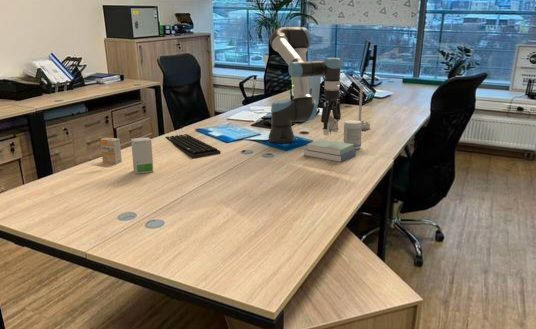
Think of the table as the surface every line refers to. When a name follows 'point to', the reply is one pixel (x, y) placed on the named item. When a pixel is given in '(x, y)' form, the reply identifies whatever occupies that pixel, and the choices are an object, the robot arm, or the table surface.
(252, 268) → the table surface
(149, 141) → the skincare box
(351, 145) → the book pile
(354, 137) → the supplement tub
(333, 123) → the game die
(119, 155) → the supplement box
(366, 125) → the flag stand
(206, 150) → the computer keyboard
